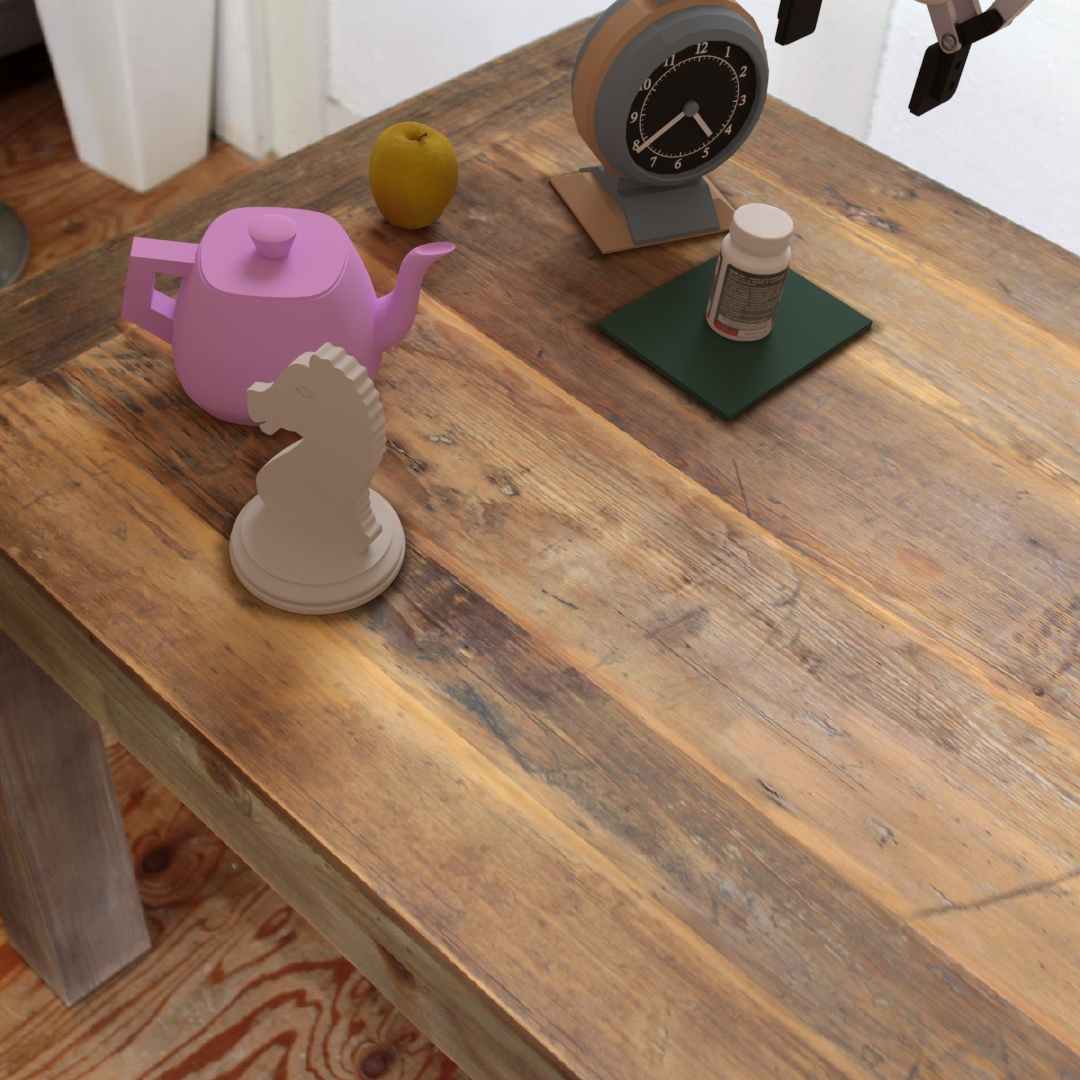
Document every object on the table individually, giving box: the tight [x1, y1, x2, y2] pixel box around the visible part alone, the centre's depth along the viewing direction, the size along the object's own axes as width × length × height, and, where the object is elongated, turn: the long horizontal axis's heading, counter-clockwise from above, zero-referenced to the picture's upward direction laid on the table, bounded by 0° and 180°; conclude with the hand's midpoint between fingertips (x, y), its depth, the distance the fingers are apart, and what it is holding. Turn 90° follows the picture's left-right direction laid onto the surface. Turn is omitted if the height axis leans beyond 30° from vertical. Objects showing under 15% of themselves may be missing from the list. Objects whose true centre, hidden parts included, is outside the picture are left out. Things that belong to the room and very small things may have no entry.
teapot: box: [120, 206, 457, 428], centre depth 82 cm, size 13×20×11 cm
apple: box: [368, 120, 459, 231], centre depth 95 cm, size 6×6×8 cm
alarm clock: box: [549, 0, 770, 255], centre depth 96 cm, size 14×10×18 cm
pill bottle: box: [706, 202, 794, 341], centre depth 90 cm, size 5×5×8 cm
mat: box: [595, 253, 874, 422], centre depth 93 cm, size 16×12×1 cm
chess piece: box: [228, 342, 406, 616], centre depth 70 cm, size 10×10×15 cm
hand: (858, 71), depth 78 cm, fingers open, 9 cm apart
